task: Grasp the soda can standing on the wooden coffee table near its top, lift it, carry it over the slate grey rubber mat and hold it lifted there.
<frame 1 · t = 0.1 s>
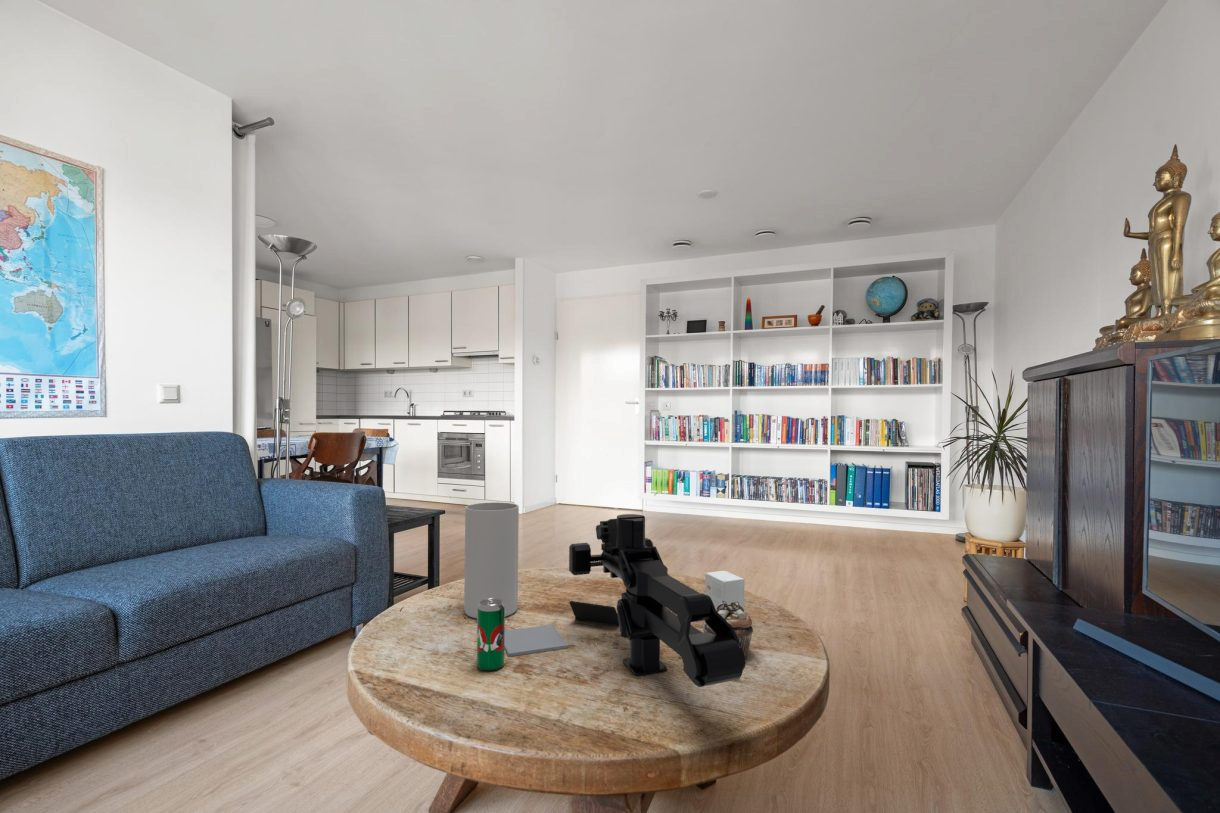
hand: (598, 547, 130), 17 cm above the table, tool horizontal, fingers open, 9 cm apart
small box: (724, 622, 130), on the table
cylinder vase: (491, 612, 135), on the table
slate mat: (531, 641, 117), on the table
soda can: (490, 667, 105), on the table
cupcake: (727, 654, 112), on the table
handheld gaming console: (598, 623, 129), on the table
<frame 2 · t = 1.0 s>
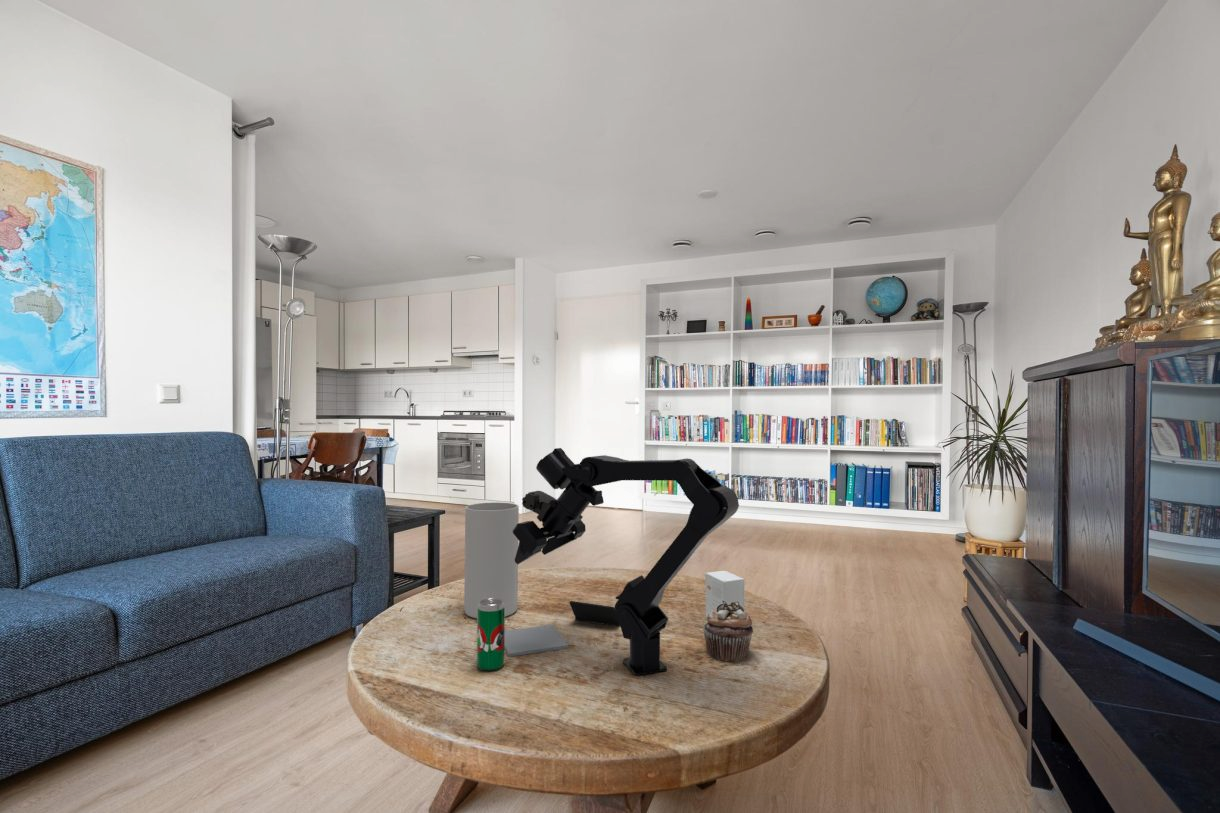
hand: (530, 557, 120), 17 cm above the table, tool tilted 40°, fingers open, 9 cm apart
nothing on the table moved.
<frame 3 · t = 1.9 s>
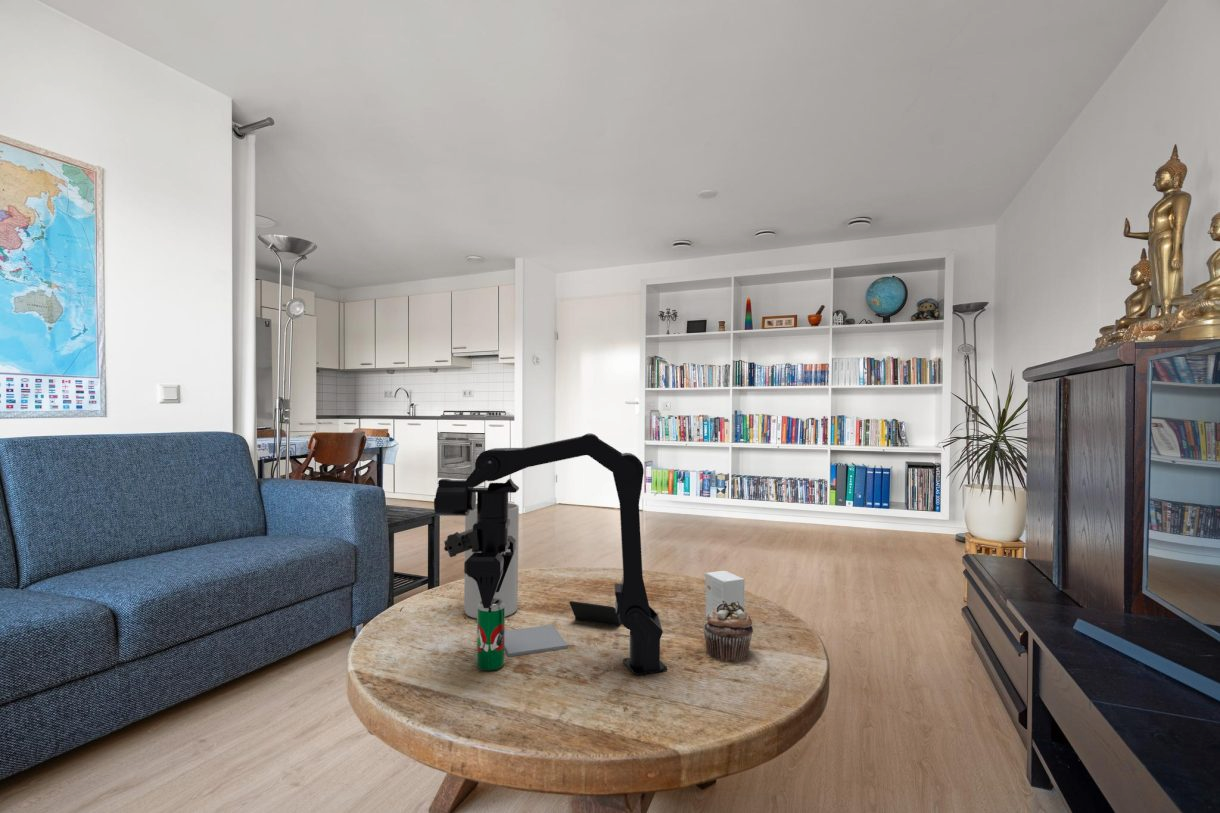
hand: (491, 599, 106), 12 cm above the table, tool pointing down, fingers open, 9 cm apart
nothing on the table moved.
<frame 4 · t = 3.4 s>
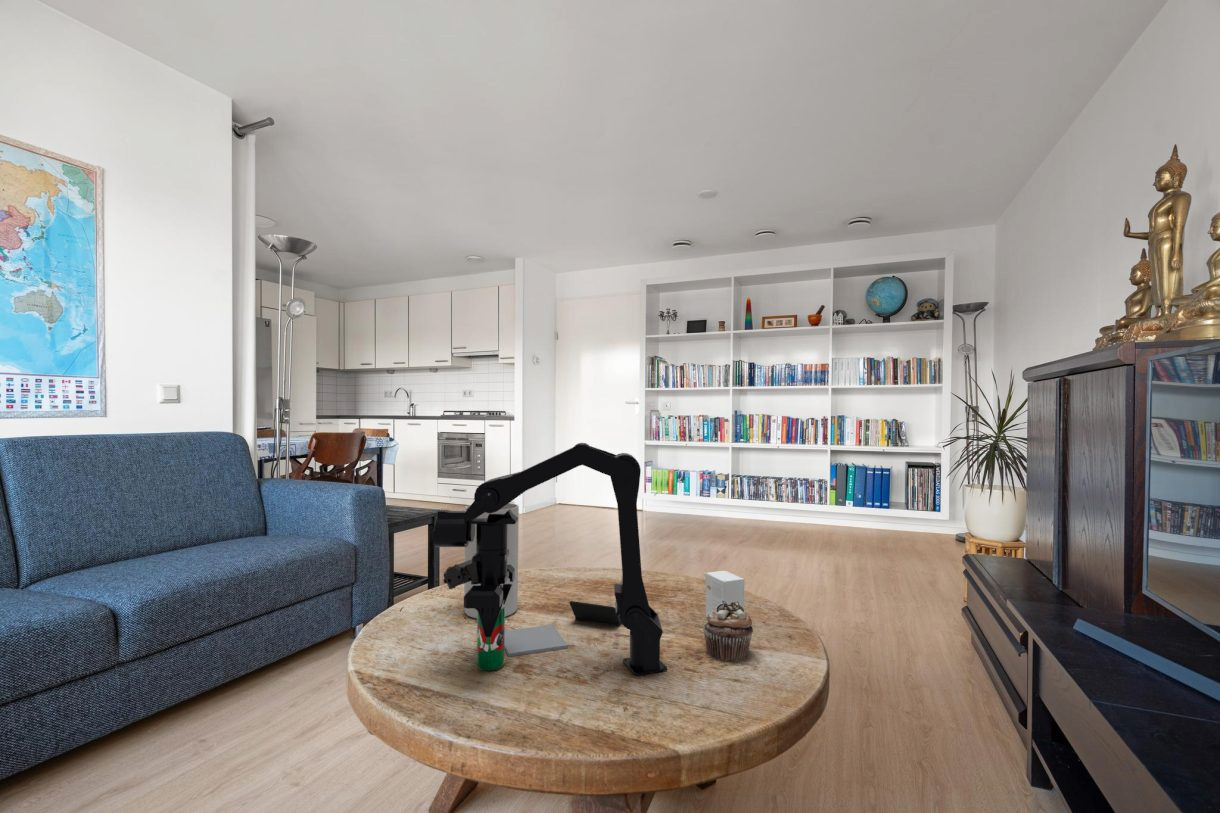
hand: (490, 631, 106), 7 cm above the table, tool pointing down, fingers closed on soda can, 5 cm apart
soda can: (490, 667, 105), on the table, touching gripper
everything else where it was.
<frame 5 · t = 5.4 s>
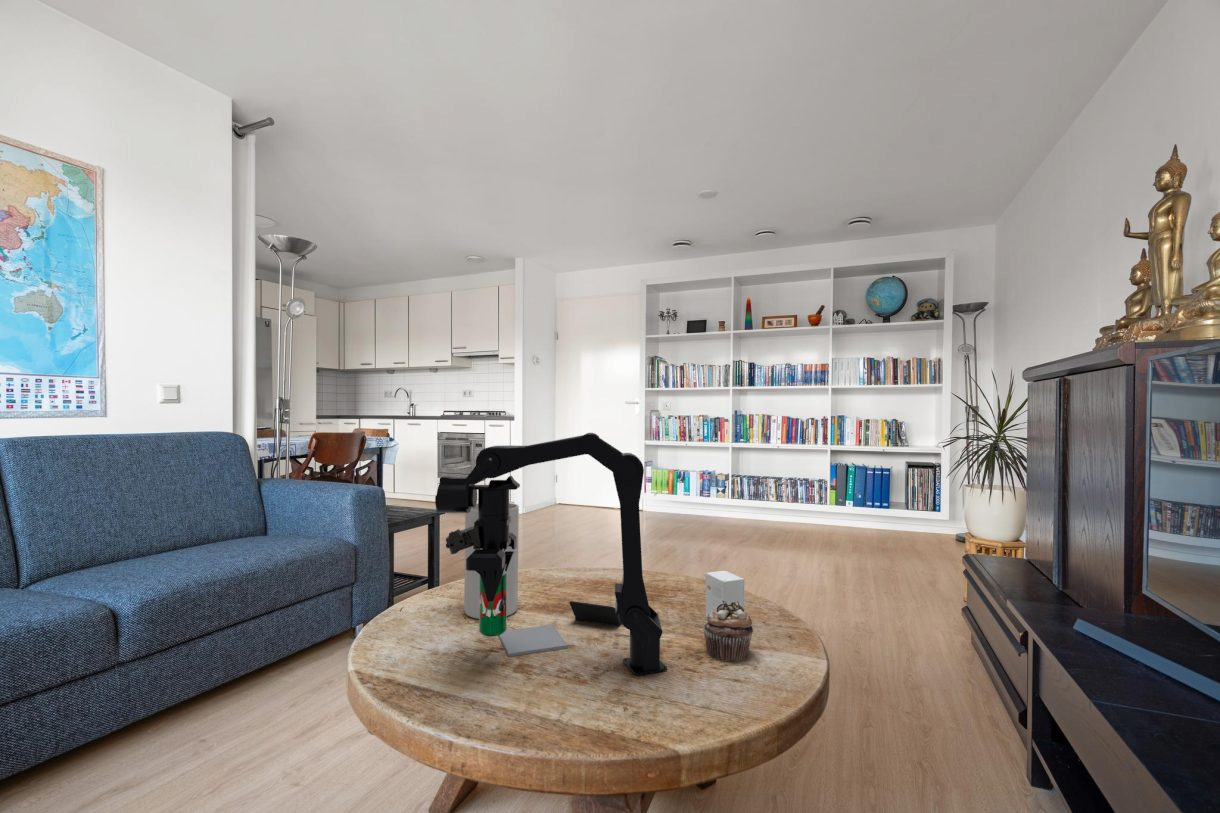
hand: (493, 596, 106), 13 cm above the table, tool pointing down, fingers closed on soda can, 5 cm apart
soda can: (492, 633, 106), point 6 cm above the table, touching gripper
everything else where it was.
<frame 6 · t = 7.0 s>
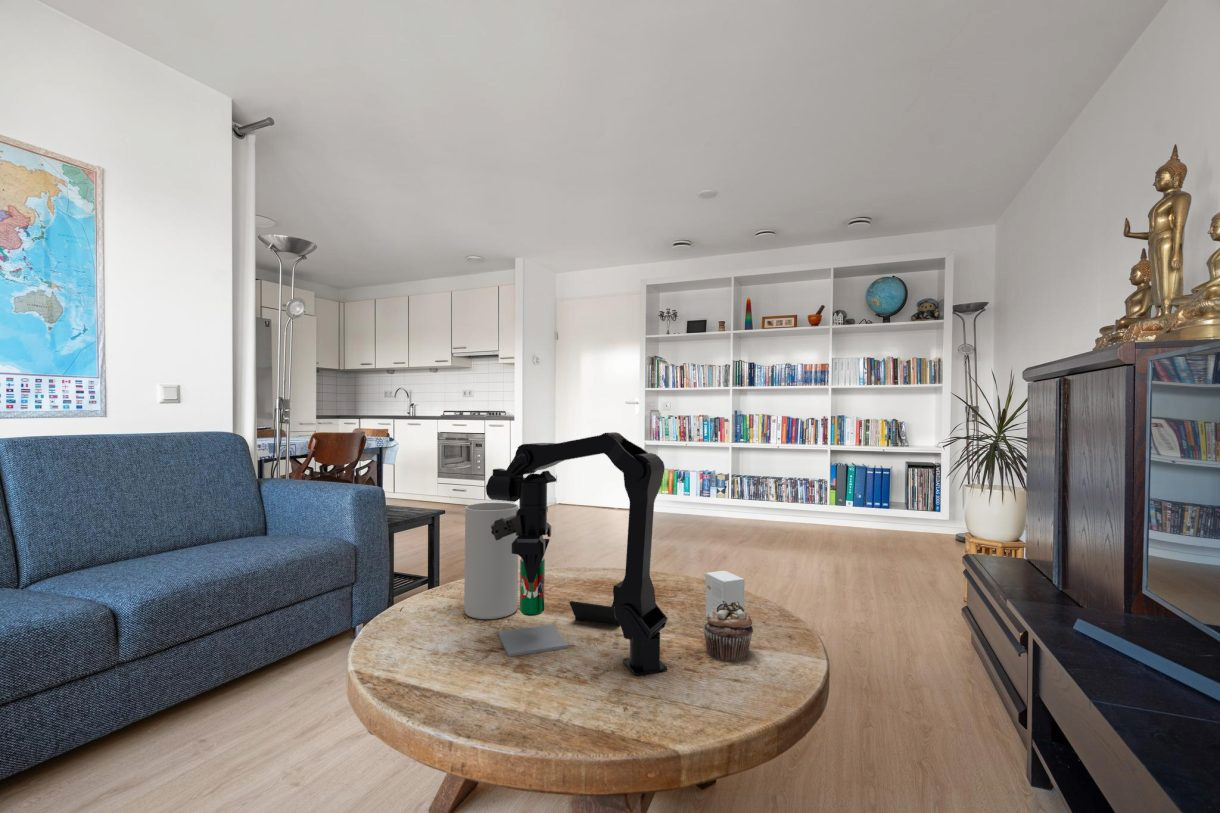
hand: (532, 578, 118), 13 cm above the table, tool pointing down, fingers closed on soda can, 5 cm apart
soda can: (532, 613, 117), point 6 cm above the table, touching gripper
everything else where it was.
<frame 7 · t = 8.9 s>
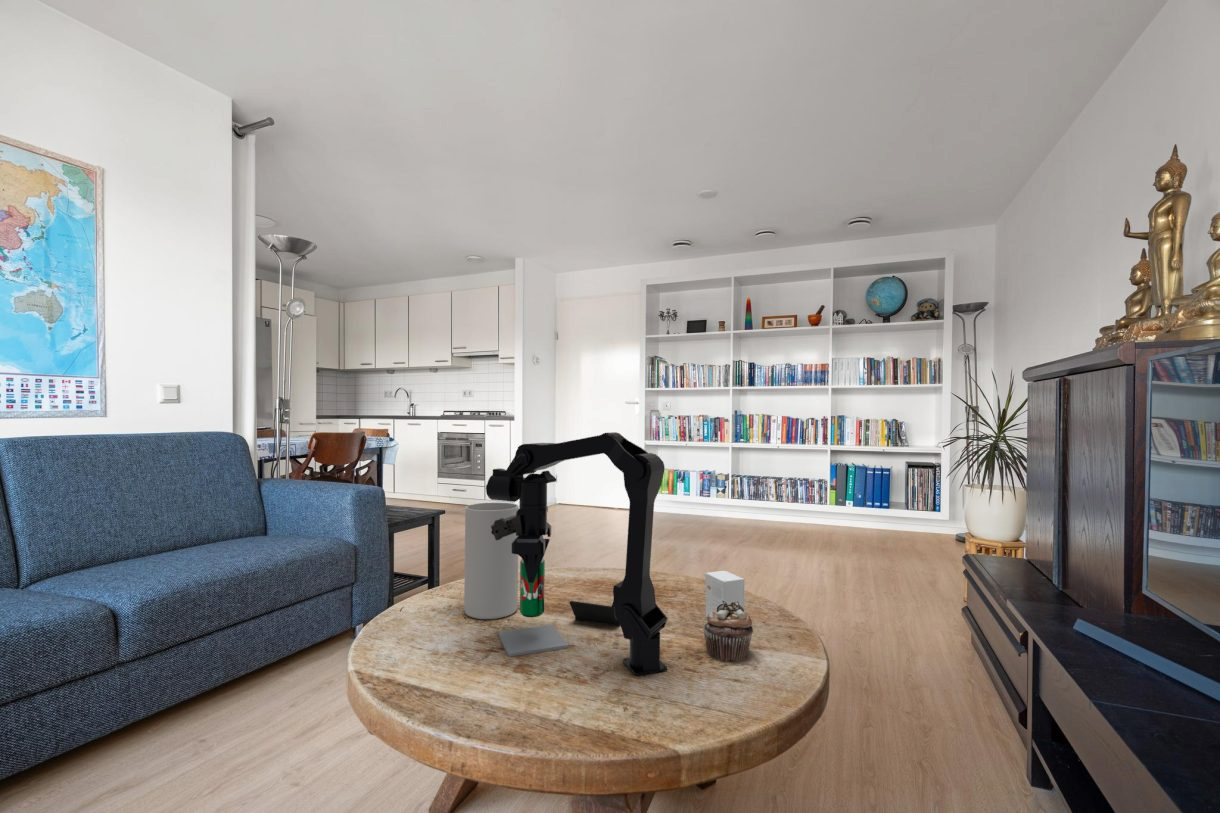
hand: (532, 578, 118), 13 cm above the table, tool pointing down, fingers closed on soda can, 5 cm apart
soda can: (532, 615, 117), point 5 cm above the table, touching gripper
everything else where it was.
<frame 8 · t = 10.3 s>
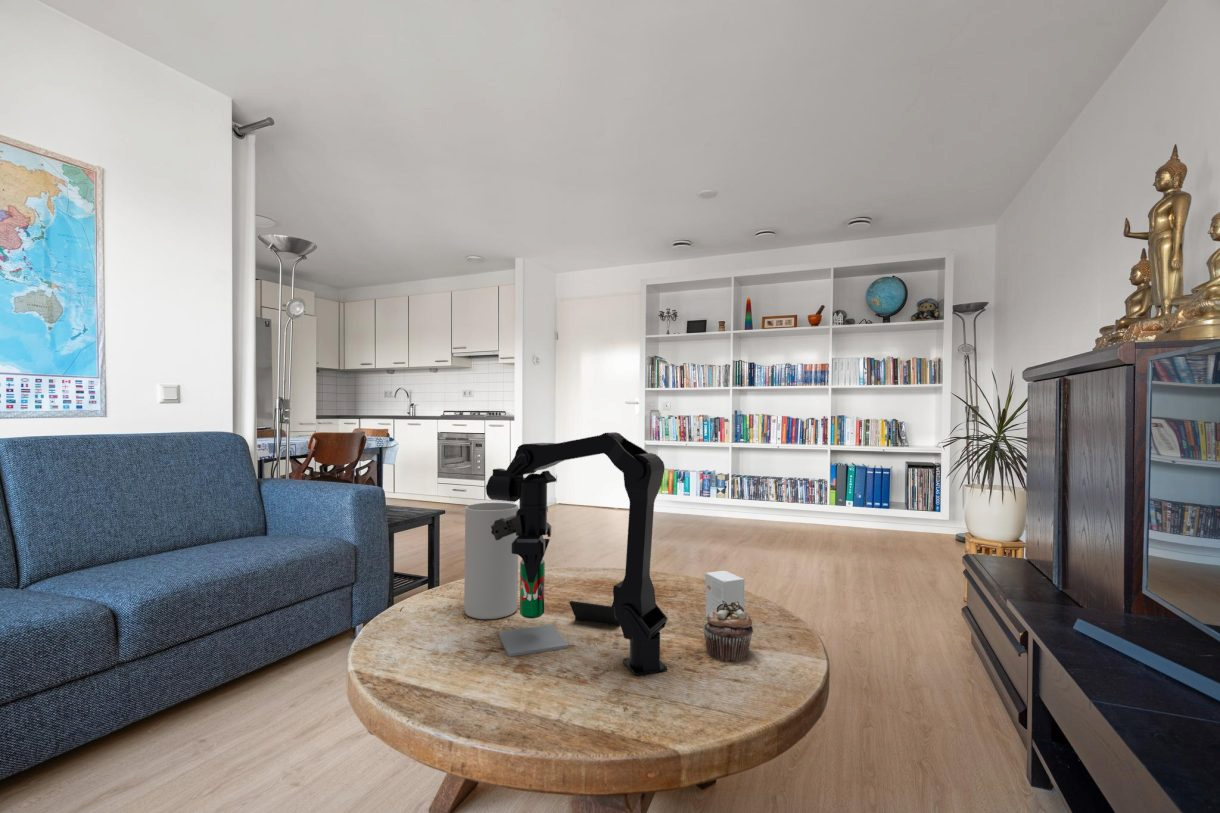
hand: (532, 578, 118), 13 cm above the table, tool pointing down, fingers closed on soda can, 5 cm apart
soda can: (532, 616, 117), point 5 cm above the table, touching gripper
everything else where it was.
at the end: the gripper is holding soda can; soda can inside the target area on the slate mat (0.0 cm from its centre), point 5.2 cm above the slate mat's base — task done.
